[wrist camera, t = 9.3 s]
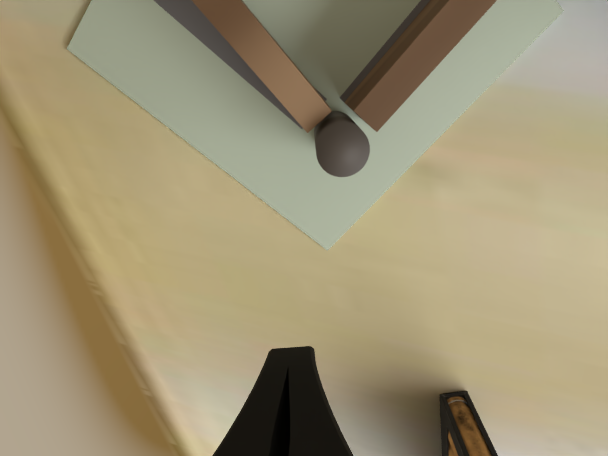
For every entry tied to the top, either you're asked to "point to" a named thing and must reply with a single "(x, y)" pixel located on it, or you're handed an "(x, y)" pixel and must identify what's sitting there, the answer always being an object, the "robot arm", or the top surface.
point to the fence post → (394, 81)
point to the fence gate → (266, 59)
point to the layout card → (320, 73)
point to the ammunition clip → (462, 427)
